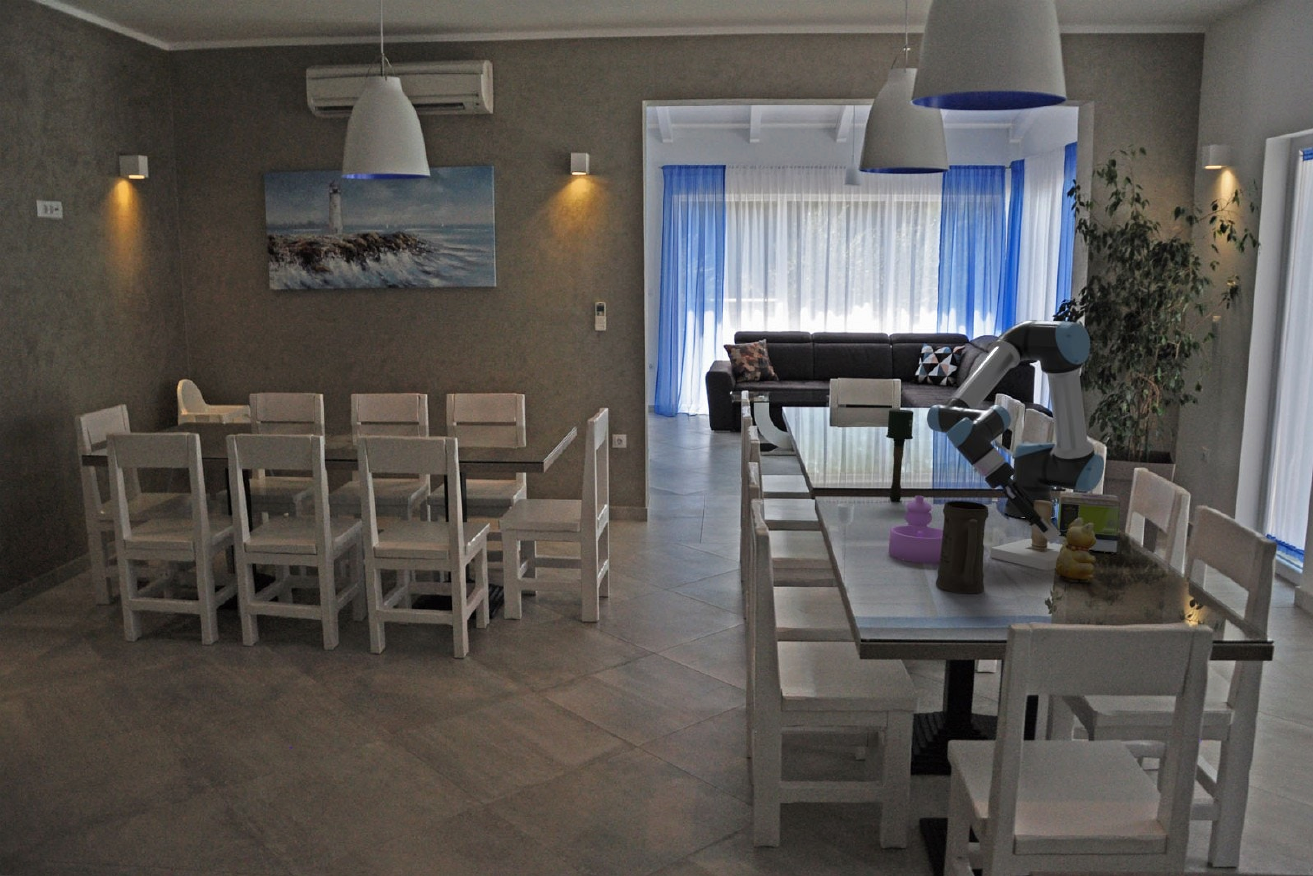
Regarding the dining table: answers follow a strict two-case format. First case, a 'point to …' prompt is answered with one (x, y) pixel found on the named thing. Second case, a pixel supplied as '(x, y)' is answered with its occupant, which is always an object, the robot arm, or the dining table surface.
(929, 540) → the container set
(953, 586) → the beer stein
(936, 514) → the dining table surface
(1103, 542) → the tea box
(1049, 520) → the oak peg
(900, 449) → the stick grenade
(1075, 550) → the decorative figurine
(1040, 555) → the hole board
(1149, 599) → the dining table surface
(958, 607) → the dining table surface
